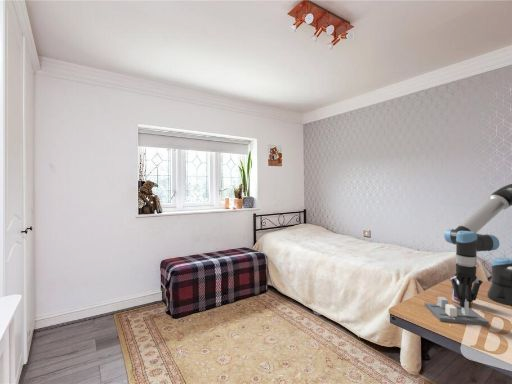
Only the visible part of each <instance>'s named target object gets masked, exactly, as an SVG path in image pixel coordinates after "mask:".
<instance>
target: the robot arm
mask: <svg viewBox="0 0 512 384" xmlns="http://www.w3.org/2000/svg"><path fill="white" fill-rule="evenodd" d="M511 206H512V183H510V184H507V185H503V186H502V187H500V188H499V189H496V190H495V191H494V192H493V193H491V194H490V195H489V196H488V198H487V201H485V202H484V203H483V204H482V205H481V206H480V207H479V208H478V209H476V210H475V211H474V212H473V213H472V214H471V215H470V216H468V217H467V218H466V219H465V220H464V221H463V222H461V224H459V225H458V226H457V227H456V228H452V229H451V228H449V229H446V231H445V232H444V235H443V236H444V240H445V241H446V242H447V243H448V244H449V243H450V244H452V245H455V246H456V247H455V249H456V251H455V253H456V254H455V263H456V264H455V274H454V276H453V277H449V278H448V279H449V281H450V282H451V285H452V286H453V290H454V294H455V297H456V298H458V299H459V300H460V304H459V306H461V307H462V313H463V314H464V315H466V316H469V308H471V306H472V305H471V303H472V302H473V301H476V299H477V296H478V293H479V289H480V287H481V285H482V284H483V280H481V279H479V278H478V277H477V275H476V274H477V254H478V253H477V252H490V251H491V252H492V251H495V250H497V249H499V247H500V240H499V238H498V237H497V236H495V235H494V234H488V233H487V234H481V233H480V234H479V233H478V232H479V231H481V230H482V229H483V227H485V226H486V225H487V224H489V222H490V221H491V220H493V218H495V217H496V216H497V215H498V214H499V213H500V212H502V211H503V210H507V209H508V208H510V207H511ZM491 268H492V269H491V284H490V286H489V288H488V290H487V294H486V295H487V298H488V299H490V300H492V301H494V302H497V303H500V304H503V305H507V306H508V305H509V306H512V258H511V257H495V258H493V259H492V264H491ZM457 280H458V281H459V285H460V290H459V289H458V285H457ZM465 287H466V295H465ZM465 298H466V300H465Z"/></svg>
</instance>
